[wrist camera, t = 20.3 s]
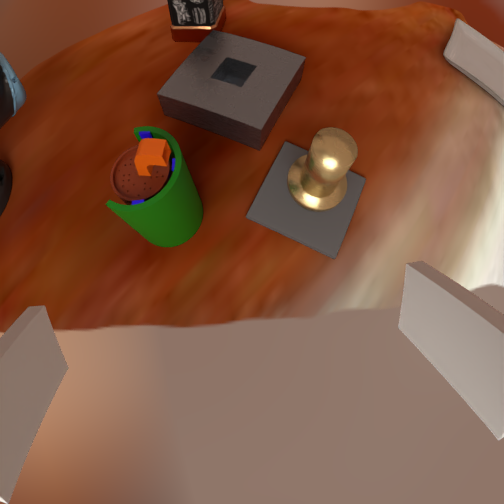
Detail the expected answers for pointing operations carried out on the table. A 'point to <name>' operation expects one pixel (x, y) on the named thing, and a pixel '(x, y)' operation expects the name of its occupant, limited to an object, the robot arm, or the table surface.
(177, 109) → the plate
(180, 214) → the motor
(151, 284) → the table surface
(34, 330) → the robot arm
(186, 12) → the whiskey bottle
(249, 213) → the charcoal mat
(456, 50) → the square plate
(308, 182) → the brass flanged peg
